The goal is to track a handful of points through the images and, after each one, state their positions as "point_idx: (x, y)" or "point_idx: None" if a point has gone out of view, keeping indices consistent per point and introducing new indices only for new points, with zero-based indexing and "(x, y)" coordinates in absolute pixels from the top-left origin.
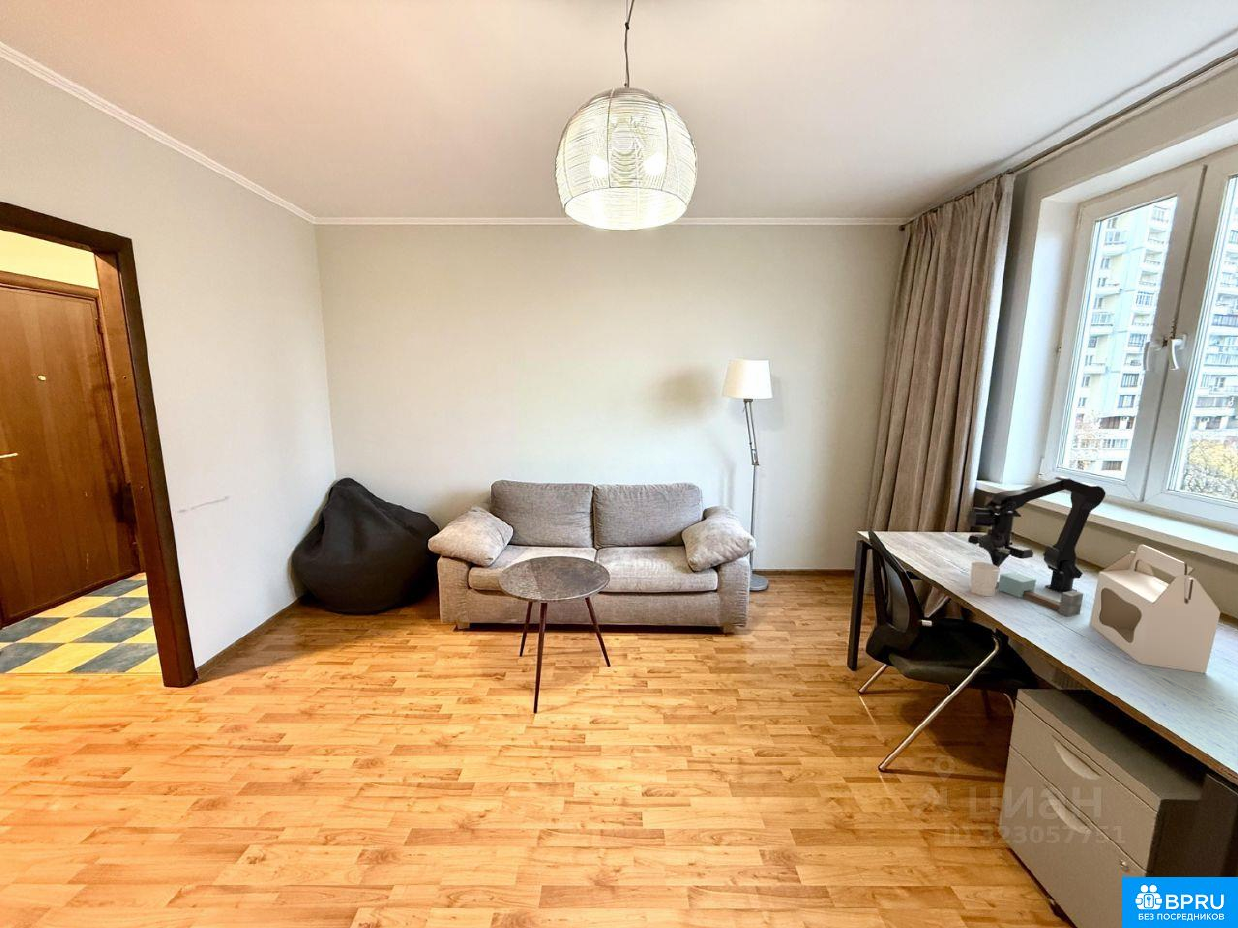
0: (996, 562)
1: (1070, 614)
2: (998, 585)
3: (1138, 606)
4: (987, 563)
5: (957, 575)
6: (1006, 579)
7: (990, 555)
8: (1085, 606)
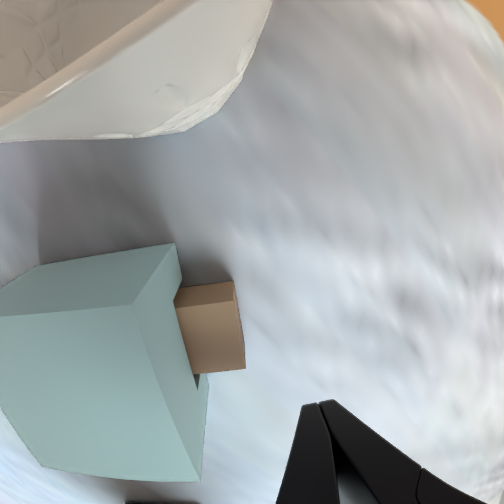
0: (313, 466)
1: None
2: (215, 292)
3: None
4: (138, 21)
5: (475, 181)
6: (75, 296)
7: (464, 500)
8: (20, 453)
